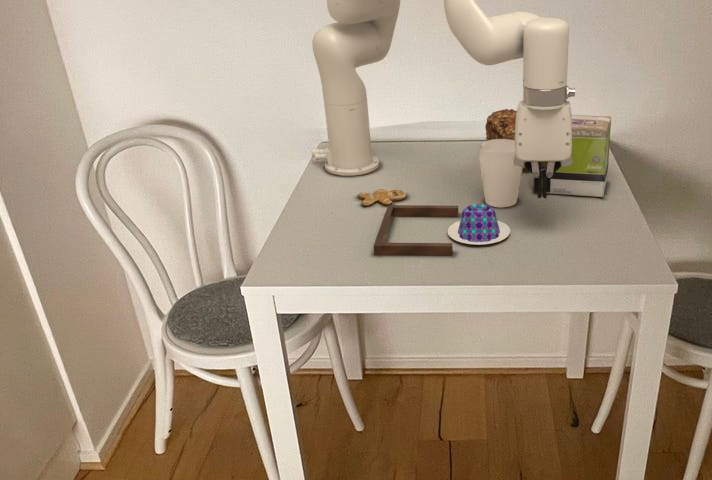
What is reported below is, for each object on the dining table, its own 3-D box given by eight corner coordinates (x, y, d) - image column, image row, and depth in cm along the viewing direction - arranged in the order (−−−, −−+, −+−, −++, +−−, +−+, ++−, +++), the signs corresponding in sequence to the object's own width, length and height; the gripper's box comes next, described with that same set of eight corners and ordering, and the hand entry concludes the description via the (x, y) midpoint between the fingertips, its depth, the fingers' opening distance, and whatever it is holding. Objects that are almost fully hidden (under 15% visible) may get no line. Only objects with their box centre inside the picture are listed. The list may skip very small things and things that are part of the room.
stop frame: (374, 255, 138) (373, 245, 137) (388, 214, 154) (388, 204, 153) (452, 255, 138) (451, 246, 137) (458, 214, 153) (458, 205, 152)
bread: (484, 149, 186) (484, 108, 181) (524, 144, 189) (525, 104, 184) (513, 175, 172) (514, 131, 166) (556, 168, 175) (558, 126, 169)
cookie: (355, 190, 162) (401, 184, 165) (356, 194, 162) (401, 188, 165) (362, 204, 155) (410, 198, 158) (363, 209, 156) (410, 202, 158)
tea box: (607, 181, 168) (612, 115, 160) (603, 199, 159) (608, 129, 151) (540, 176, 170) (542, 111, 163) (532, 193, 162) (534, 125, 154)
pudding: (508, 220, 150) (508, 196, 148) (512, 247, 140) (512, 221, 138) (448, 221, 150) (447, 197, 148) (447, 248, 140) (446, 222, 137)
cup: (519, 211, 154) (520, 154, 148) (475, 208, 156) (474, 152, 149) (525, 195, 162) (527, 140, 155) (484, 192, 163) (483, 137, 157)
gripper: (586, 89, 134) (580, 188, 143) (501, 90, 134) (501, 188, 144) (589, 101, 127) (584, 203, 137) (500, 101, 128) (501, 203, 138)
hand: (541, 195), depth 140 cm, fingers closed
